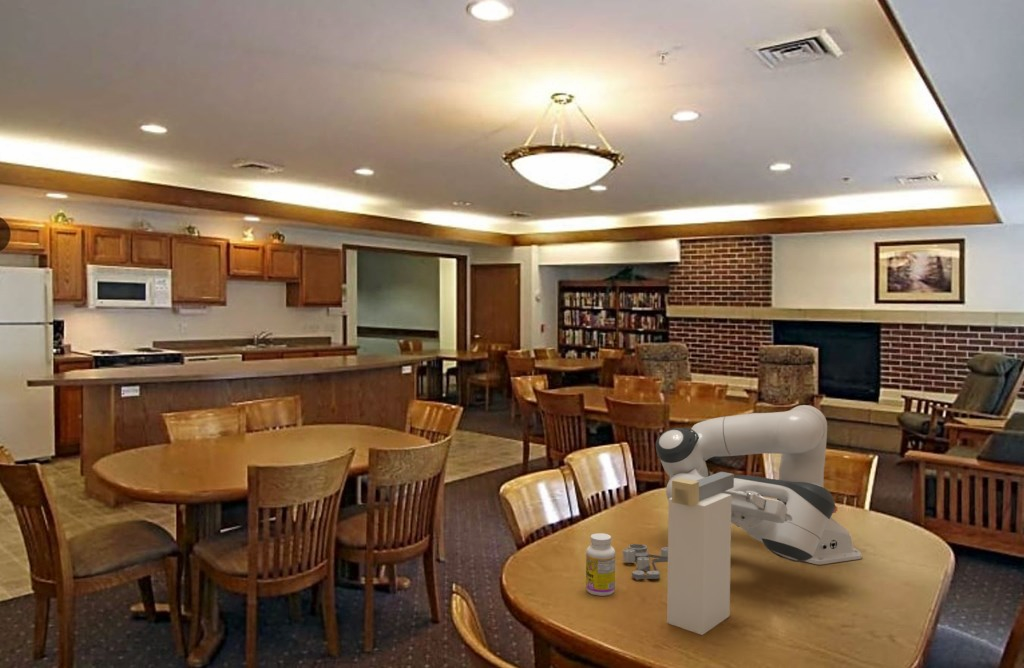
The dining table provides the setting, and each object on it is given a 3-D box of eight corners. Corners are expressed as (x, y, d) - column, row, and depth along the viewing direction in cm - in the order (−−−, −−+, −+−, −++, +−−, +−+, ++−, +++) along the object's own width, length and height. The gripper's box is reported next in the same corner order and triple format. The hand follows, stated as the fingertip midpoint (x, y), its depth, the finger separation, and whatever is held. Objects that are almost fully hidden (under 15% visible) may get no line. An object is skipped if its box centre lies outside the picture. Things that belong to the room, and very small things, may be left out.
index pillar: (695, 604, 156) (697, 487, 155) (730, 615, 150) (732, 494, 149) (667, 622, 147) (668, 498, 146) (702, 635, 141) (704, 506, 140)
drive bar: (718, 484, 158) (718, 464, 158) (736, 488, 155) (736, 468, 155) (671, 502, 143) (672, 480, 143) (691, 506, 140) (691, 484, 140)
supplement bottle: (583, 585, 166) (583, 531, 165) (611, 585, 166) (611, 531, 166) (588, 597, 159) (589, 541, 159) (617, 596, 160) (618, 540, 159)
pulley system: (598, 573, 176) (650, 586, 166) (597, 554, 176) (650, 566, 166) (655, 550, 196) (705, 560, 186) (655, 533, 197) (705, 542, 186)
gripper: (791, 534, 158) (771, 516, 149) (707, 514, 172) (684, 496, 163) (798, 507, 160) (778, 487, 151) (714, 489, 174) (691, 470, 165)
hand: (728, 491), depth 157 cm, fingers open, 8 cm apart
